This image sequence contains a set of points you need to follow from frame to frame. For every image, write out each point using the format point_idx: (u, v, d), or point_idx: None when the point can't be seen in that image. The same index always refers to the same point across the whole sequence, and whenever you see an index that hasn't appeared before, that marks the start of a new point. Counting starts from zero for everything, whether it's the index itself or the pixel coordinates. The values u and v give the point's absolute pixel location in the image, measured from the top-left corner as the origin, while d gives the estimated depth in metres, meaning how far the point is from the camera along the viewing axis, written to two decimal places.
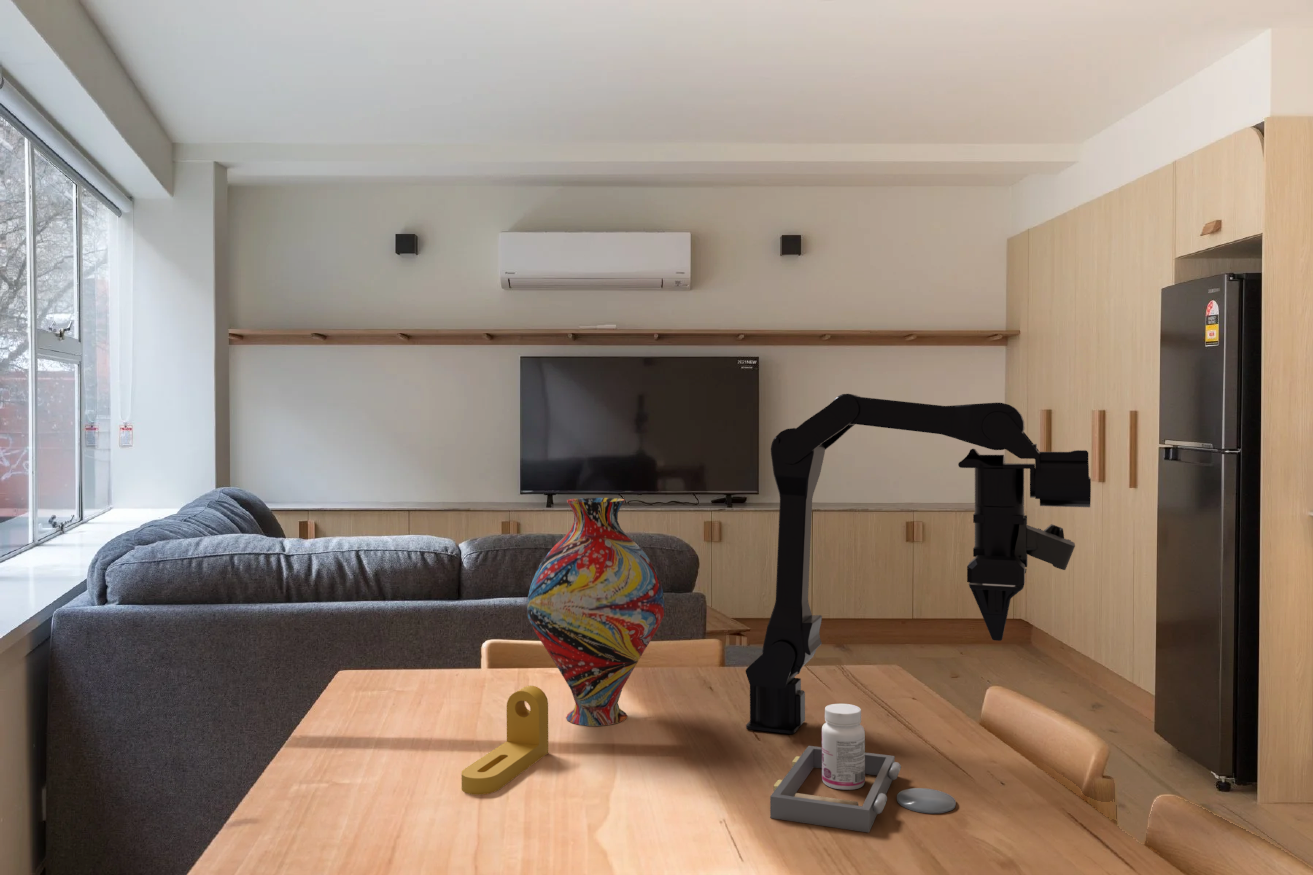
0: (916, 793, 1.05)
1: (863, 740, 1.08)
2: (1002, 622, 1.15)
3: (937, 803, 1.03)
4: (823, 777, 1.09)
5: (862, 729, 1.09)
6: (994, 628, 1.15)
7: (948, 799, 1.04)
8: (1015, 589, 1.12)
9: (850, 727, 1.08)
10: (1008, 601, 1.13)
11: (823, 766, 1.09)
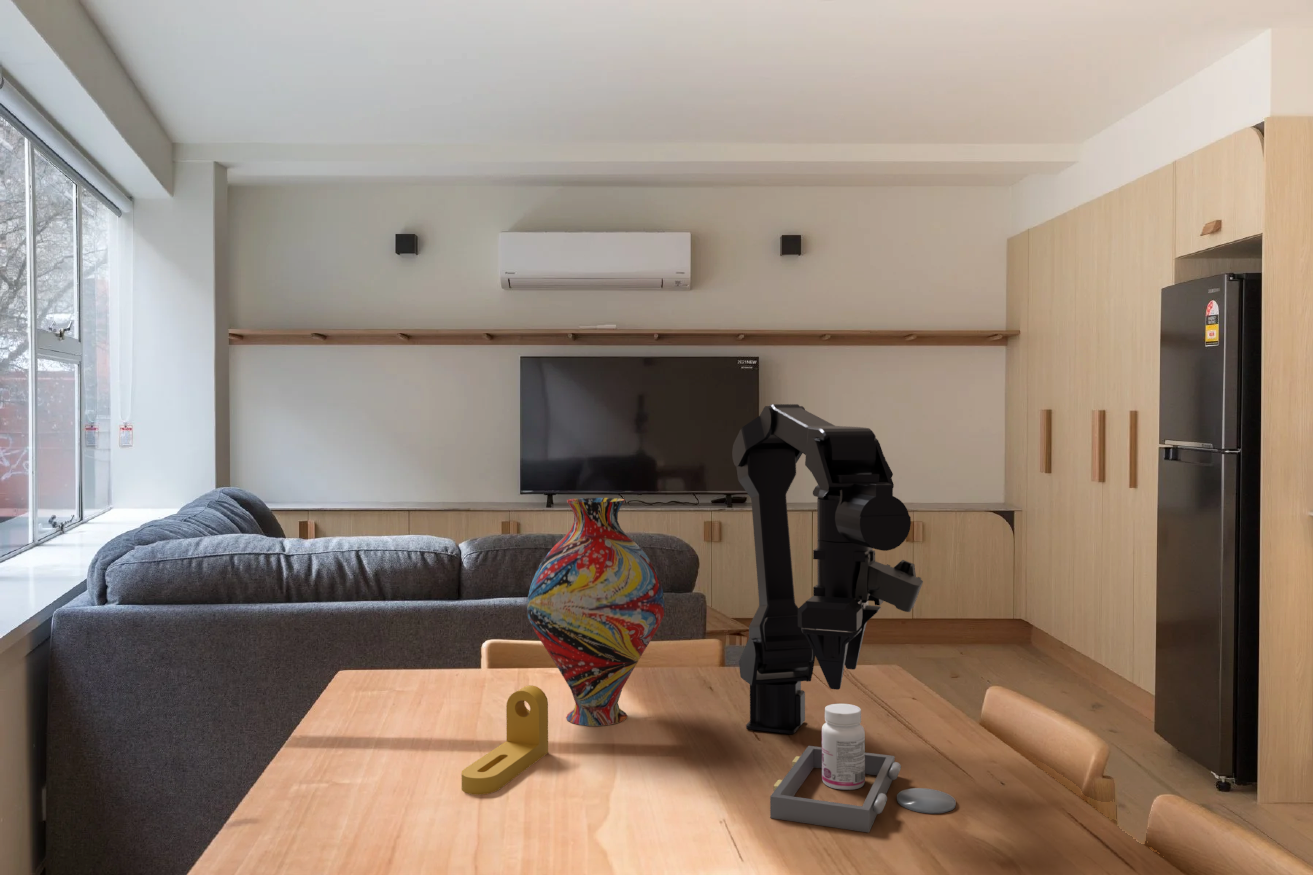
0: (916, 793, 1.05)
1: (863, 740, 1.08)
2: (839, 670, 1.04)
3: (937, 803, 1.03)
4: (823, 777, 1.09)
5: (862, 729, 1.09)
6: (831, 676, 1.05)
7: (948, 799, 1.04)
8: (848, 635, 1.01)
9: (850, 727, 1.08)
10: (844, 647, 1.03)
11: (823, 766, 1.09)
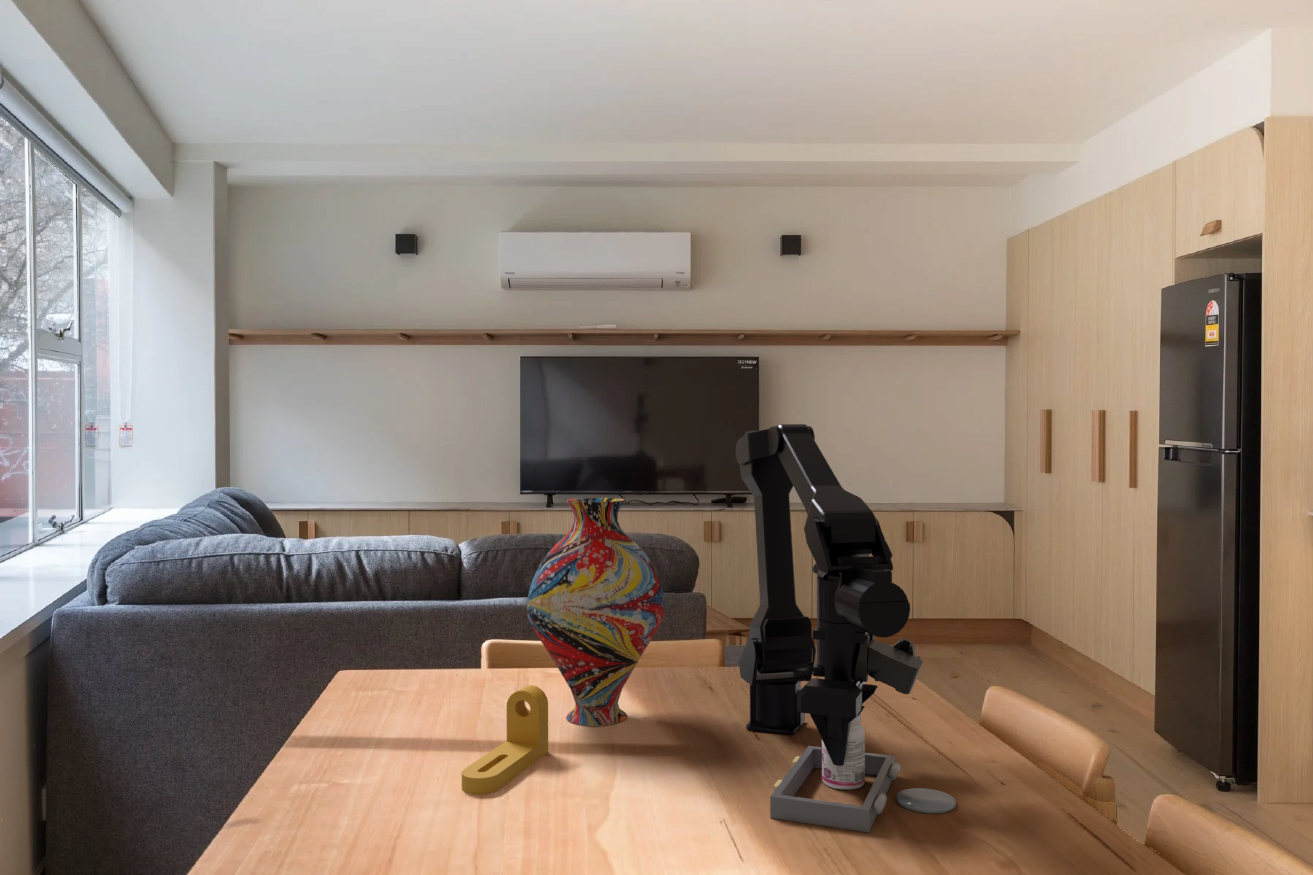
0: (916, 793, 1.05)
1: (863, 740, 1.08)
2: (842, 747, 1.06)
3: (937, 803, 1.03)
4: (823, 777, 1.09)
5: (862, 729, 1.09)
6: (834, 752, 1.07)
7: (948, 799, 1.04)
8: None
9: (850, 726, 1.08)
10: (847, 725, 1.05)
11: (823, 766, 1.09)
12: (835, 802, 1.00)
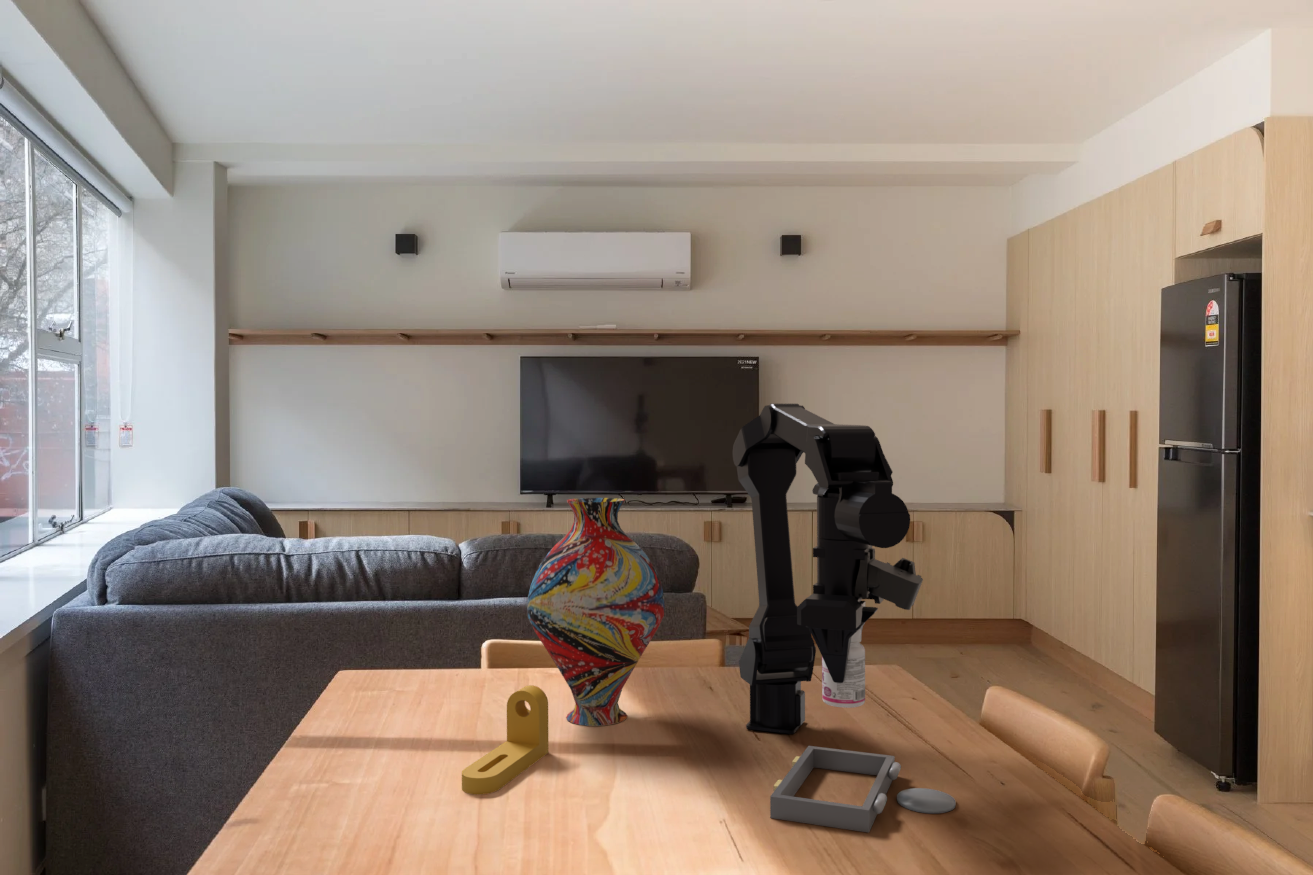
0: (916, 793, 1.05)
1: (863, 658, 1.08)
2: (842, 663, 1.06)
3: (937, 803, 1.03)
4: (823, 696, 1.09)
5: (862, 648, 1.09)
6: (834, 669, 1.07)
7: (948, 799, 1.04)
8: (852, 629, 1.03)
9: (850, 645, 1.08)
10: (847, 641, 1.05)
11: (823, 685, 1.09)
12: None
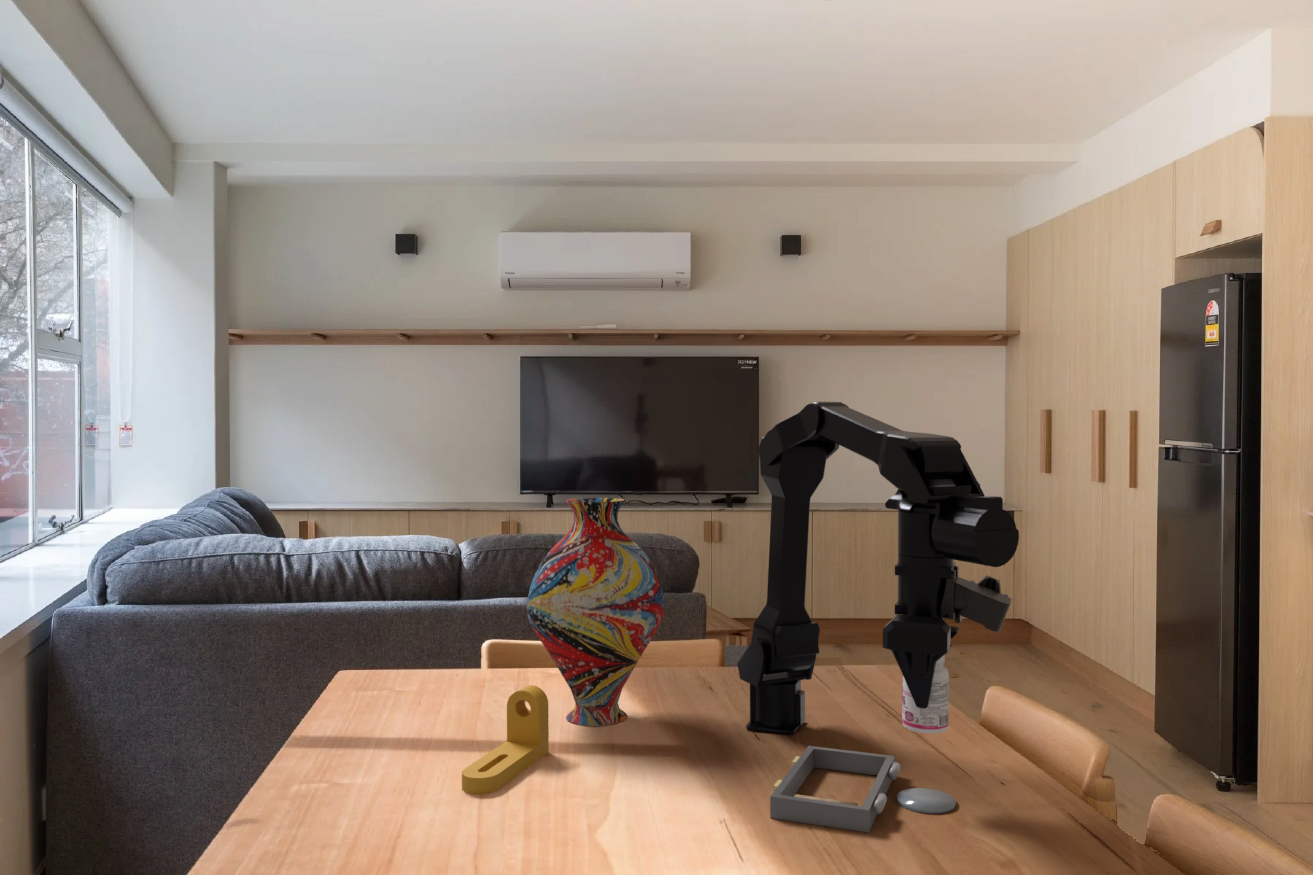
0: (916, 793, 1.05)
1: (947, 681, 1.03)
2: (927, 688, 1.00)
3: (937, 803, 1.03)
4: (904, 721, 1.04)
5: (946, 670, 1.03)
6: (918, 694, 1.01)
7: (948, 799, 1.04)
8: None
9: None
10: (933, 665, 0.99)
11: (904, 709, 1.03)
12: None
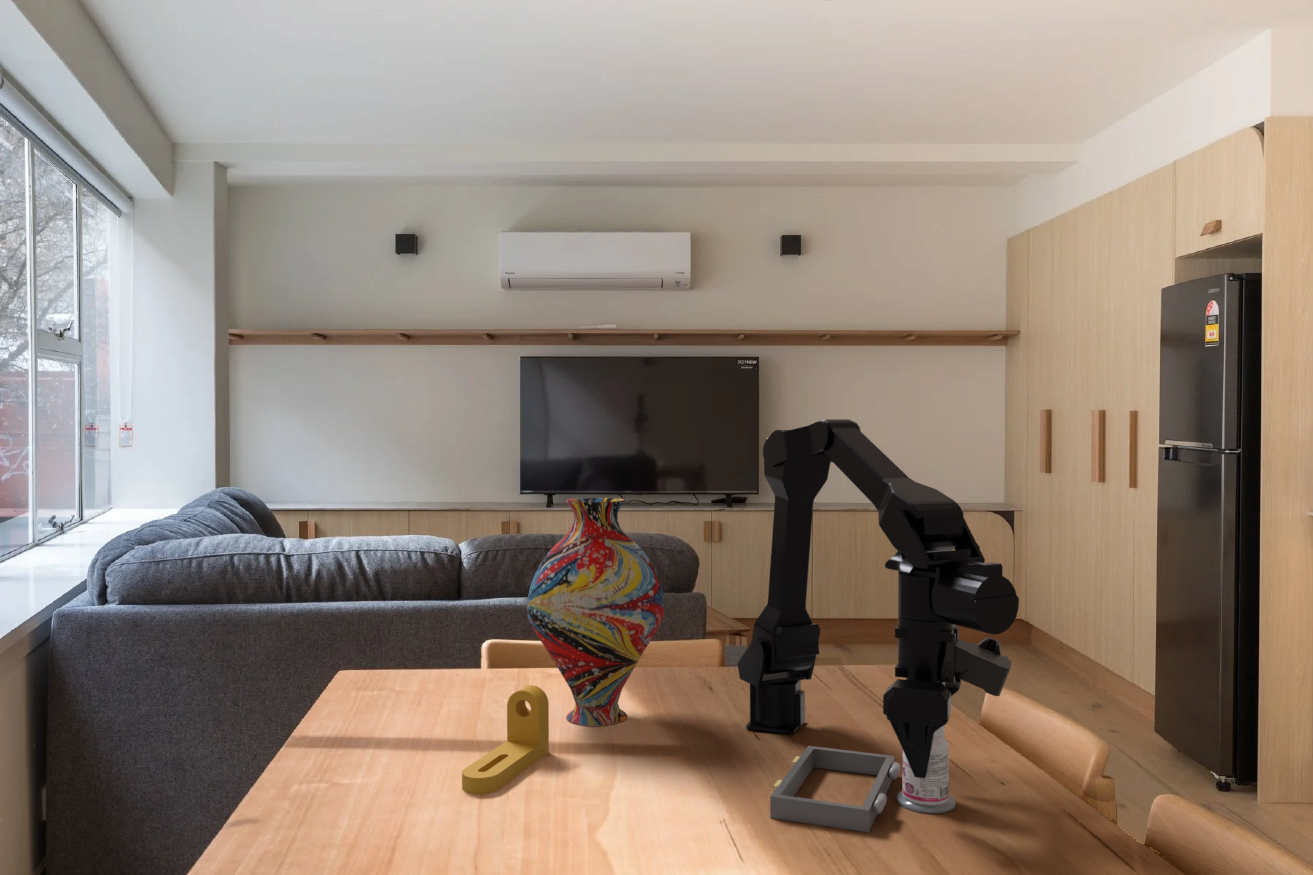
0: None
1: (947, 753, 1.03)
2: (925, 758, 0.99)
3: None
4: (904, 792, 1.04)
5: (946, 741, 1.03)
6: (916, 764, 0.99)
7: (948, 799, 1.04)
8: (938, 724, 0.96)
9: (934, 739, 1.02)
10: (931, 735, 0.97)
11: (904, 781, 1.04)
12: None
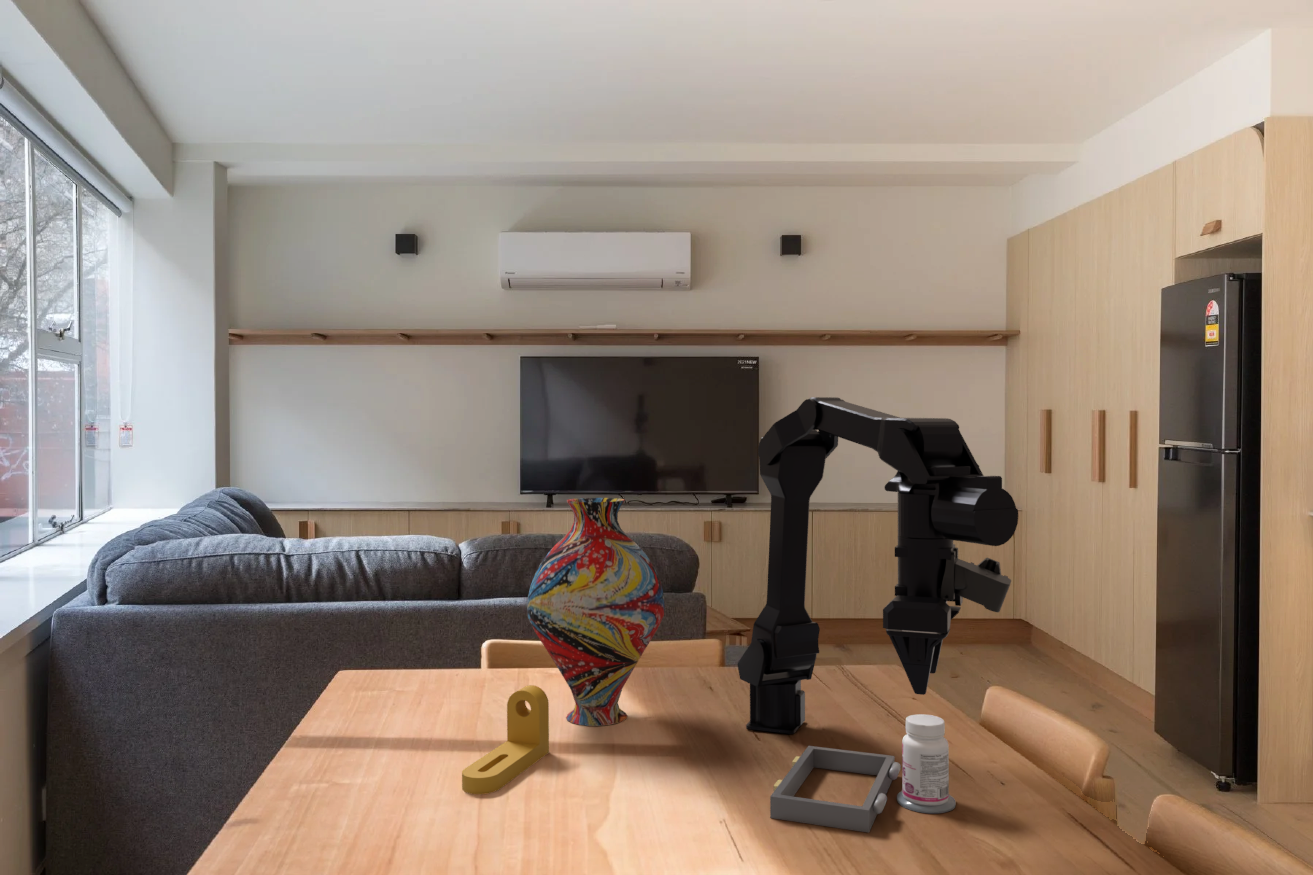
0: None
1: (947, 753, 1.03)
2: (925, 673, 0.99)
3: None
4: (904, 792, 1.04)
5: (946, 741, 1.03)
6: (916, 680, 0.99)
7: (948, 799, 1.04)
8: (938, 636, 0.96)
9: (934, 739, 1.02)
10: (931, 650, 0.97)
11: (904, 781, 1.04)
12: None
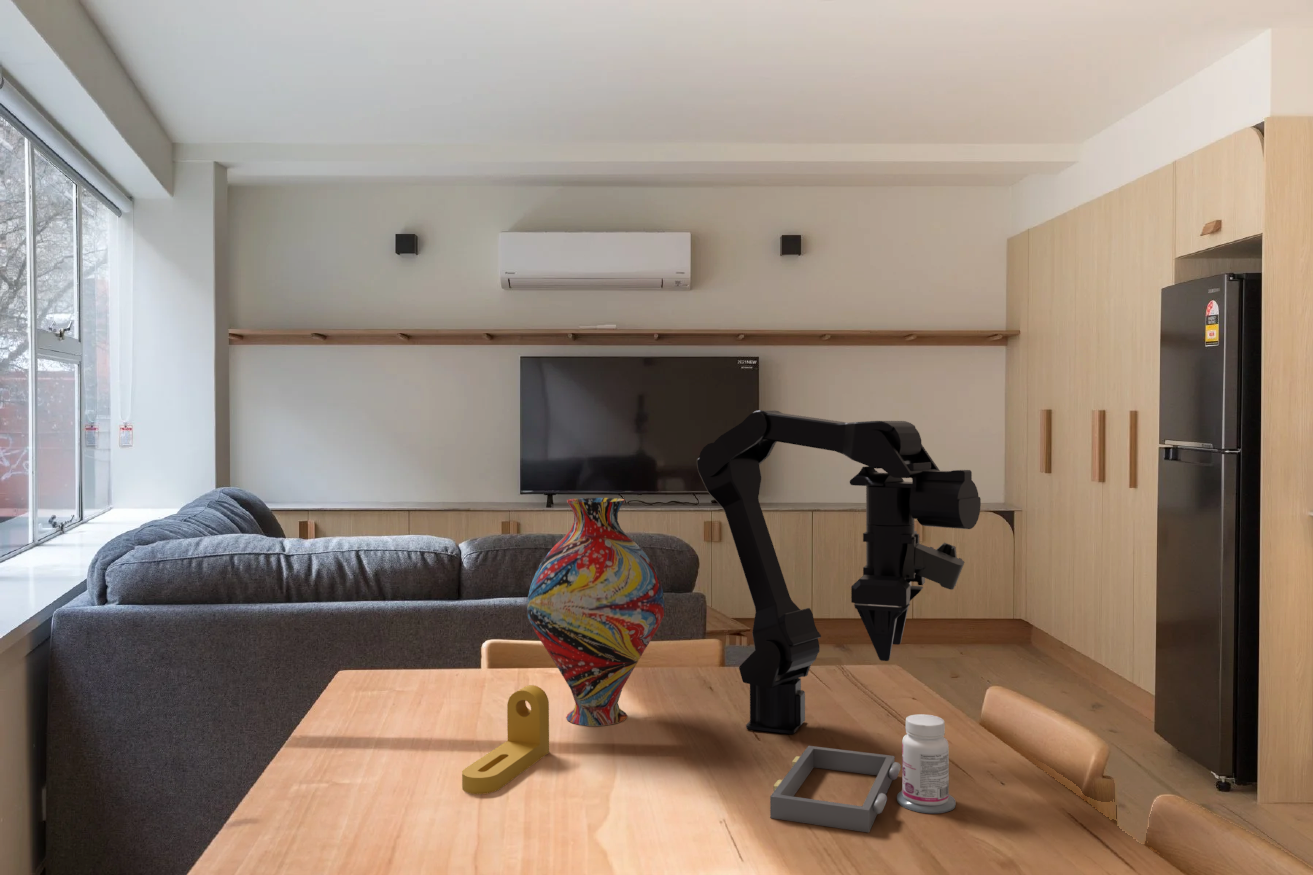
0: None
1: (947, 753, 1.03)
2: (888, 642, 1.14)
3: None
4: (904, 792, 1.04)
5: (946, 741, 1.03)
6: (881, 648, 1.14)
7: (948, 799, 1.04)
8: (898, 610, 1.11)
9: (934, 739, 1.02)
10: (893, 621, 1.12)
11: (904, 781, 1.04)
12: None
